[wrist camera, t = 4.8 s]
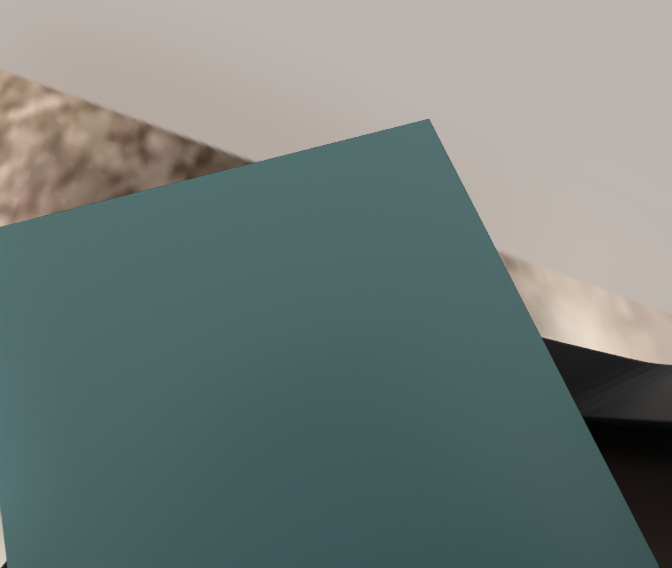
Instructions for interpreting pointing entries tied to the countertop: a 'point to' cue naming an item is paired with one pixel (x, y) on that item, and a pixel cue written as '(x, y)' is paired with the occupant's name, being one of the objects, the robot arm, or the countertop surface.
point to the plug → (290, 380)
